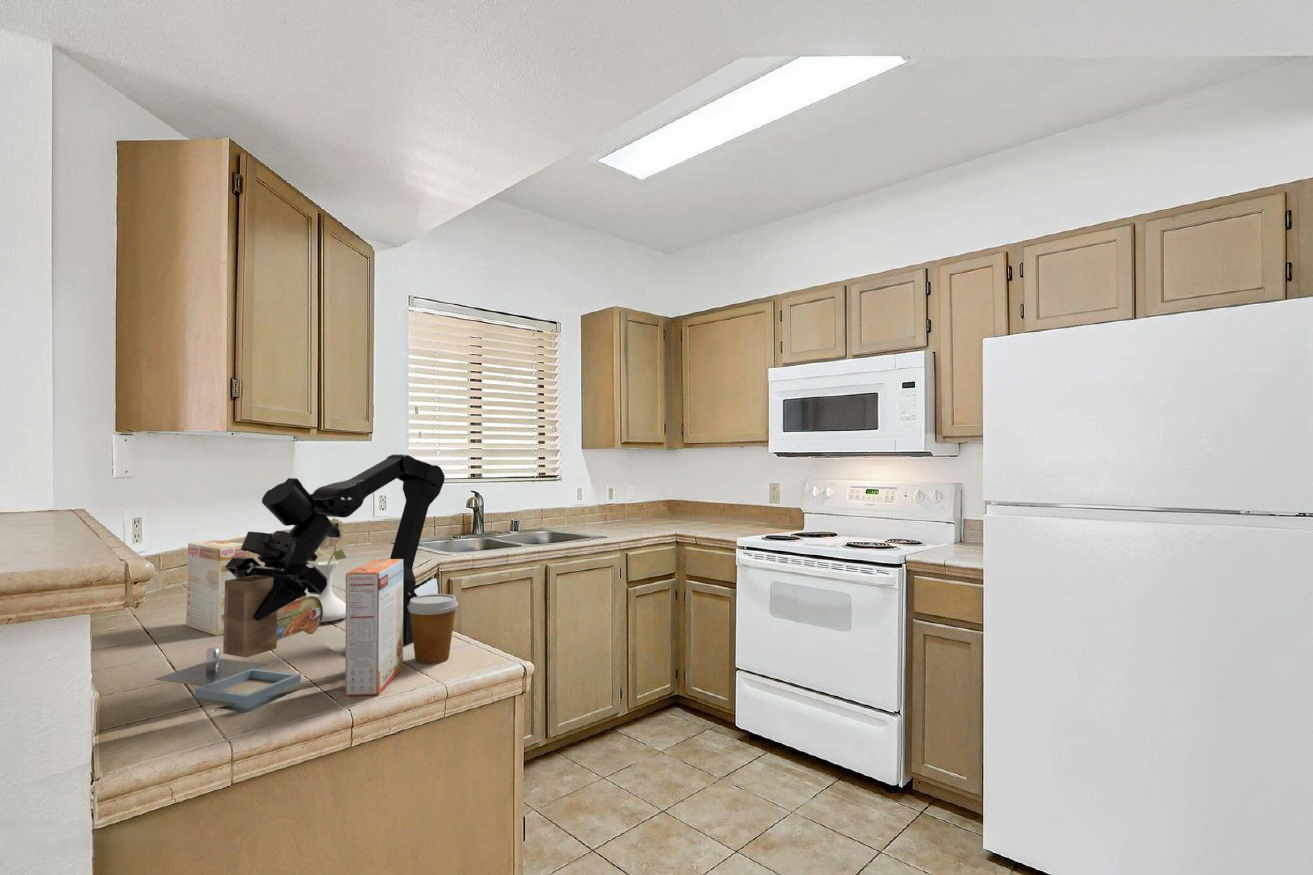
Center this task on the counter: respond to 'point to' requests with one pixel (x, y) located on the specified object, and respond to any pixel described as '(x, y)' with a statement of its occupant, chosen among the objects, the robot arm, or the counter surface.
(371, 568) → the cracker box
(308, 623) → the tin
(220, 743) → the counter surface
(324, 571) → the flower in vase
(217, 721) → the counter surface
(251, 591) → the walnut collar
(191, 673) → the plate
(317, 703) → the counter surface
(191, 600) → the coffeecake box
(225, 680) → the slate tray
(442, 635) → the disposable coffee cup
